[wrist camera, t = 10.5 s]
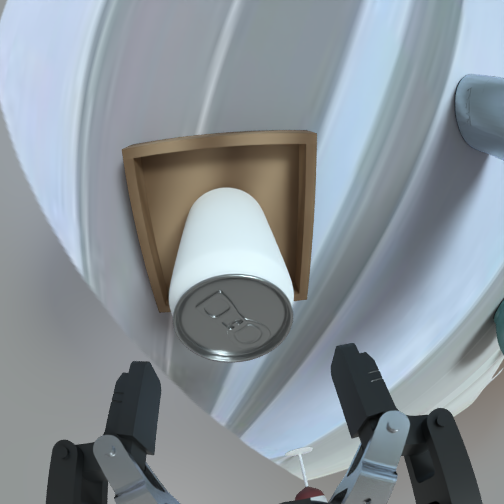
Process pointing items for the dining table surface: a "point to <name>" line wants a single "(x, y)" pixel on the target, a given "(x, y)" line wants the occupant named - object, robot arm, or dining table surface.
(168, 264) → the tray
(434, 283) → the dining table surface
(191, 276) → the can
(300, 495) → the wineglass
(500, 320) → the teal green bowl
